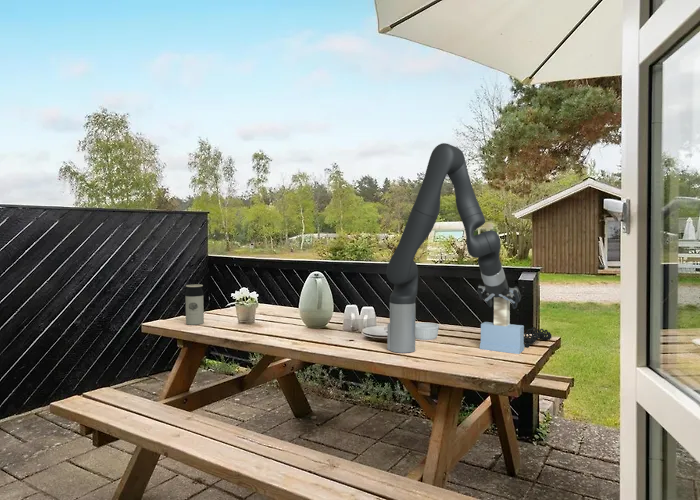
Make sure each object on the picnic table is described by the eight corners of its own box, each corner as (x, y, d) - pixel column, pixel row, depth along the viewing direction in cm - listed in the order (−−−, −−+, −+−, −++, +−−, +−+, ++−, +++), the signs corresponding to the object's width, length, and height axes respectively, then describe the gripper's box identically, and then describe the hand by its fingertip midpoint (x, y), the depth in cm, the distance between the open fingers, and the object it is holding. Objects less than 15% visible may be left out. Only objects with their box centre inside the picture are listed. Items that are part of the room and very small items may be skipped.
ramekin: (405, 337, 202) (405, 324, 201) (421, 333, 210) (421, 321, 210) (428, 342, 194) (428, 328, 194) (444, 337, 202) (444, 324, 202)
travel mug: (190, 321, 238) (190, 284, 237) (206, 322, 236) (206, 284, 236) (182, 325, 230) (182, 286, 229) (199, 325, 229) (198, 286, 228)
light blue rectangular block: (479, 348, 182) (479, 324, 182) (485, 345, 188) (485, 321, 188) (519, 354, 175) (519, 328, 174) (524, 349, 180) (524, 325, 180)
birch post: (493, 325, 180) (493, 294, 180) (497, 323, 184) (497, 293, 184) (506, 326, 178) (506, 295, 177) (509, 324, 182) (509, 294, 181)
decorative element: (541, 338, 201) (541, 323, 200) (554, 340, 197) (554, 325, 197) (512, 347, 185) (512, 332, 185) (525, 350, 182) (525, 333, 181)
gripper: (517, 269, 170) (524, 299, 180) (475, 268, 177) (485, 296, 187) (512, 286, 165) (521, 316, 175) (470, 284, 173) (481, 312, 183)
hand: (502, 306), depth 181 cm, fingers open, 8 cm apart
